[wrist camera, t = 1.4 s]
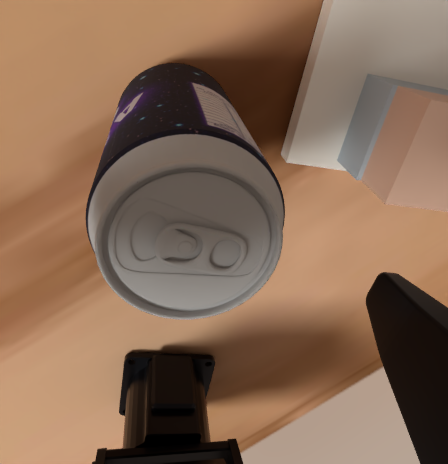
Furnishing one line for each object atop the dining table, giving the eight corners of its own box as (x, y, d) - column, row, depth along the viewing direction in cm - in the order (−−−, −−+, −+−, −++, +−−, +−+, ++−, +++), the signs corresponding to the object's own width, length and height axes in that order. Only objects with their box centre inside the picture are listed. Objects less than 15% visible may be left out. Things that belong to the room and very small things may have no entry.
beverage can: (130, 43, 19) (98, 116, 8) (245, 80, 20) (333, 180, 10) (108, 156, 21) (63, 315, 11) (211, 181, 23) (254, 341, 13)
